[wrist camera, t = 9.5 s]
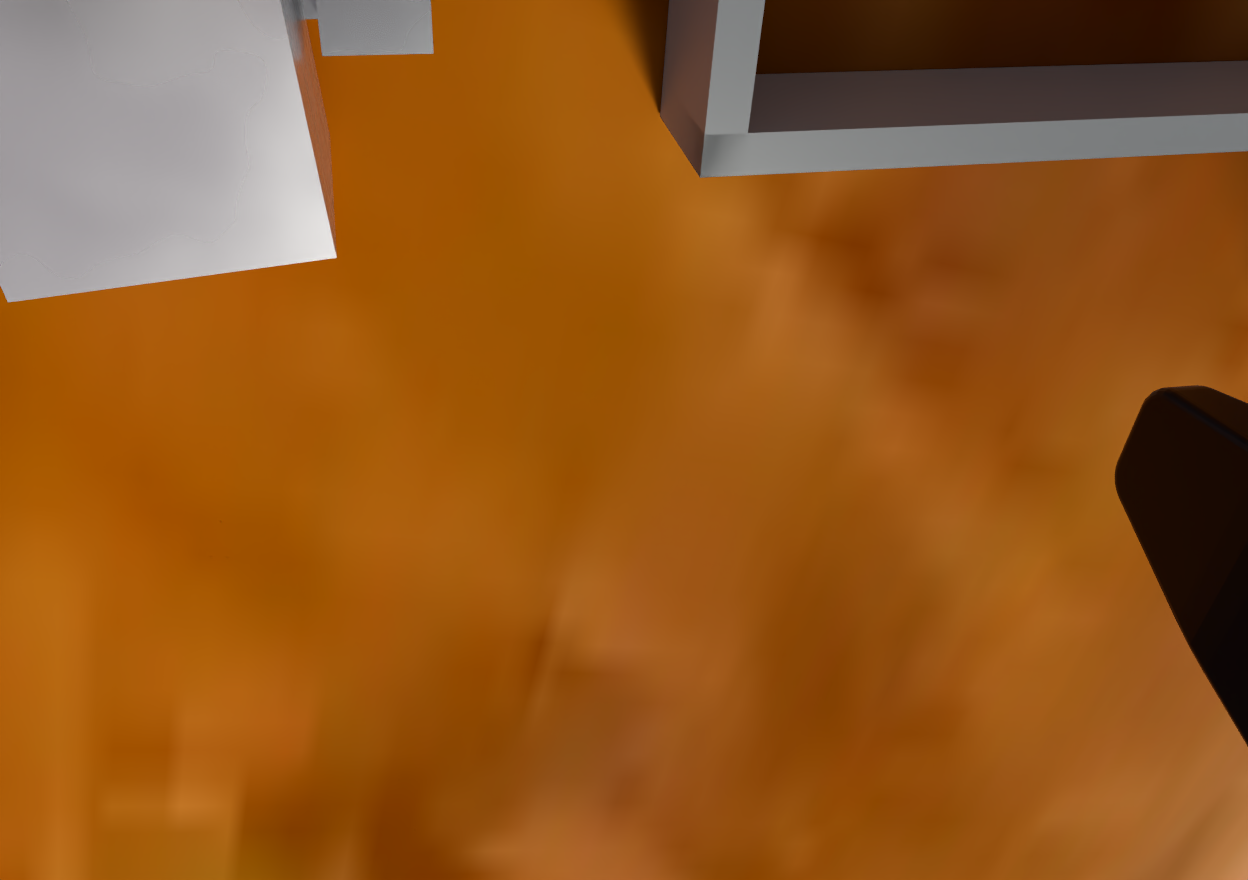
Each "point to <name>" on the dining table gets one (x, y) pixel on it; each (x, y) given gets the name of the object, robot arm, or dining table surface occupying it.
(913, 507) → the dining table surface
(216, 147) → the white square bar
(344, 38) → the stay bracket
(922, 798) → the dining table surface
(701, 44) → the case
